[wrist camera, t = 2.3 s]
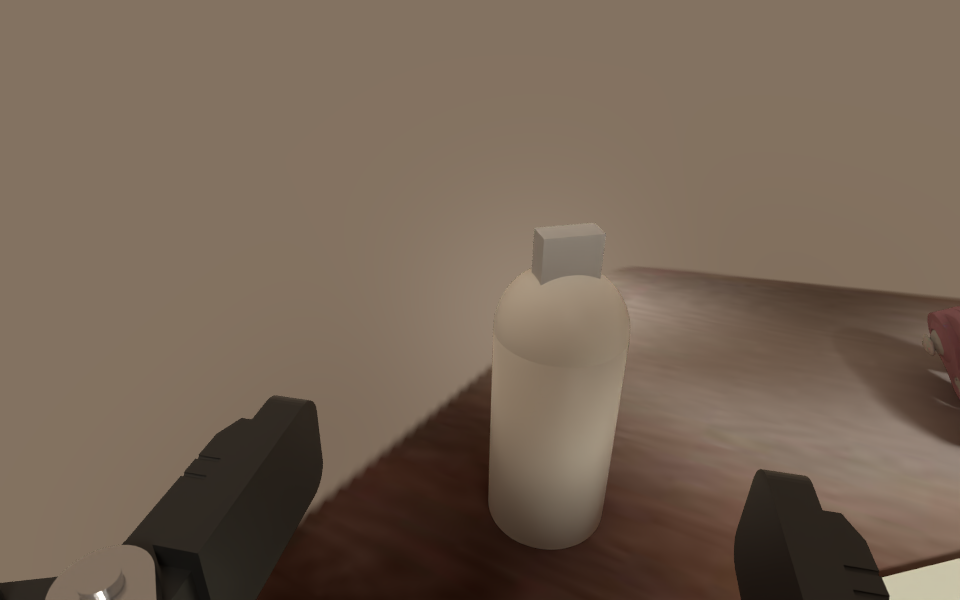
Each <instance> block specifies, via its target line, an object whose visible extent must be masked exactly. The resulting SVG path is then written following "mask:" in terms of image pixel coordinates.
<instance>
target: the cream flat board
mask: <svg viewBox="0 0 960 600" xmlns="http://www.w3.org/2000/svg"><path fill="white" fill-rule="evenodd" d="M882 579H883V581H884V584H885V586H886V588H887V591H888V593H889V595H890V597H889V600H960V558H959V559H955V560H951V561H947V562H943V563H939V564H935V565H931V566H927V567H923V568H919V569H915V570H910V571H906V572H902V573H898V574H894V575H890V576H886V577H882Z"/></svg>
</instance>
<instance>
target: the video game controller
mask: <svg viewBox="0 0 960 600" xmlns="http://www.w3.org/2000/svg"><path fill="white" fill-rule="evenodd" d="M928 327H929V331H930V338H929V336H928V335H927V334H924V335H923V341H922V344H923V347H924V349H925V350H926V351H927V352H928V353H930V354H931V355H935V350H936V351H937V352H938V354H939V356H940V357H941V359H942V361H943V363H944V365H945V367H946V369H947V372H948V375H949V377H950V380H951V383H952V385H953V388H954V390H955V393H956V395H957V396H958V398H959V400H960V306H958V307H952V308H948V309H944V310H940V311H936V312H932V313H929V314H928ZM934 349H935V350H934Z"/></svg>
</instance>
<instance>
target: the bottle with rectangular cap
mask: <svg viewBox="0 0 960 600" xmlns="http://www.w3.org/2000/svg"><path fill="white" fill-rule="evenodd" d="M605 237H606V233H604V232H603V231H602V230H601V229H600V228H599V227H598V226H597V225H596V224H595V223H586V224H574V225H562V226H550V227H538V228H535V229H534V242H533V243H534V244H533V260H532V268H530V269H528V270H527V271H525V272H523V273H522V274H520V275H519V276H518V277H517V278H516V279H514V280H513V282H512V283H511V284H510V285H509V286H508V287H507V289H506V290H505V292H504V293H503V295H502V297H501V298H500V301H499V303H498V305H497V308H496V312H495V317H494V326H493V355H492V389H491V422H490V456H489V489H488V505H489V510H490V514H491V516H492V518H493V520H494V522H495V523H496V525H497V526H498V527H499V528H500V529H501V530H502V531H503V532H504V533H505V534H506V535H508V536H509V537H510V538H512V539H514V540H515V541H517V542H519V543H521V544H524V545H526V546H530V547H533V548H538V549H546V550H557V549H564V548H568V547H572V546H575V545H577V544H580V543H581V542H583V541H585V540H586V539H587V538H589V537H590V536H591V535H592V534H593V533H594V532H595V530H596V529H597V527H598V526H599V523H600V521H601V517H602V512H603V506H604V499H605V493H606V486H607V480H608V474H609V467H610V461H611V455H612V448H613V442H614V435H615V429H616V423H617V416H618V410H619V404H620V397H621V391H622V384H623V378H624V372H625V365H626V359H627V353H628V346H629V340H630V319H629V315H628V311H627V307H626V304H625V302H624V300H623V298H622V296H621V294H620V293H619V291H618V290H617V288H616V287H615V286H614V285H613V284H612V282H611V281H610V280H609V279H607V278H606V277H605V276H604V275H603V274H601V270H602V262H603V254H604V245H605Z"/></svg>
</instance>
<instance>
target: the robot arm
mask: <svg viewBox="0 0 960 600" xmlns="http://www.w3.org/2000/svg"><path fill="white" fill-rule="evenodd" d="M322 469H323V459H322V451H321V444H320V434H319V426H318V417H317V410H316V406H315V404H314V402H313V401H309V400H303V399H296V398H289V397H283V396H272V397H270V398H269V399H268V400H267V401H266V403H265V404H264V405H263V407H262V408H261V409H260V410H259V412H258V413H257V414H256V415H255V416H254V418H253V419H252V420H251V419H245V418H241V419H239V420H238V421H236V422H235V423H233V424H232V425H230V426H228V427H227V428H225V429H224V430H222V431H221V432H219V433H217V434H216V435H215V436H214V438H213V439H212V440H211V441H210V442H209V443H208V445H207V446H206V447H205V448H204V449H203V451H202V452H201V453H200V454H199V458H198V459H195V460H194V461H193V462H192V463H191V465H190V466H189V467H188V468H187V469H186V470H185V472H184V476H180V478H179V479H178V480H177V481H176V482H175V483H174V485H173V486H172V487H171V488H170V489H169V490H168V492H167V493H166V494H165V495H164V496H163V497H162V499H161V500H160V501H159V502H158V503H157V505H156V506H155V507H154V508H153V509H152V511H151V512H150V513H149V514H148V515H147V516H146V518H145V519H144V520H143V521H142V522H141V523H140V525H139V526H138V527H137V528H136V530H135V531H134V532H133V533H132V534H131V535H130V536H129V537H128V539H127V540H126V541H125V542H124V543H123V544H122V545H116V546H110V547H106V548H102V549H99V550H96V551H94V552H92V553H90V554H88V555H86V556H84V557H82V558H80V559H79V560H77V561H76V562H74V563H73V564H71V565H70V566H69V567H67V568H66V569H65V570H64V571H63V572H62V573H61V574H60V575H59V576H58V577H52V578H44V579H34V580H24V581H15V582H7V583H0V600H256V599H257V597H258V595H259V593H260V592H261V590H262V588H263V586H264V584H265V583H266V581H267V579H268V577H269V576H270V574H271V572H272V570H273V569H274V567H275V565H276V563H277V562H278V560H279V558H280V556H281V554H282V553H283V551H284V549H285V547H286V546H287V544H288V542H289V540H290V539H291V537H292V535H293V533H294V531H295V530H296V528H297V526H298V524H299V523H300V521H301V519H302V517H303V516H304V514H305V512H306V510H307V509H308V507H309V505H310V503H311V501H312V500H313V498H314V496H315V494H316V492H317V489H318V487H319V484H320V480H321V476H322ZM734 563H735V570H736V576H737V581H738V586H739V591H740V596H741V600H889V597H890V595H889V593H888V591H887V588H886V586H885V584H884V581H883V579H882V577H879V574H878V573H879V570H878V568H877V565H876V563H875V561H874V559H873V556H872V554H871V552H870V549H869V547H868V545H867V543H866V541H865V540H864V538H863V537H862V536H861V535H860V534H859V533H858V532H857V531H856V529H855V528H854V527H853V526H852V525H851V524H850V523H849V522H848V521H847V519H846V518H845V517H844V516H843V515H842V514H841V513H836V512H829V511H823V510H822V508H821V505H820V503H819V500H818V497H817V495H816V492H815V489H814V487H813V484H812V482H811V480H810V479H809V478H808V477H807V476H803V475H796V474H789V473H782V472H776V471H769V470H762V469H760V470H758V471H757V472H756V474H755V476H754V479H753V482H752V485H751V488H750V491H749V494H748V497H747V500H746V503H745V506H744V510H743V513H742V516H741V519H740V522H739V525H738V528H737V531H736V536H735V544H734Z"/></svg>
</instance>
